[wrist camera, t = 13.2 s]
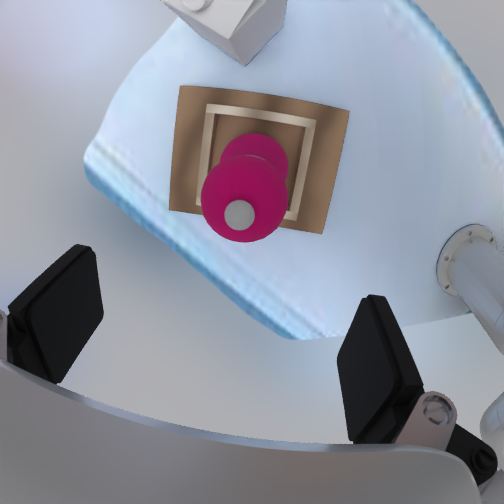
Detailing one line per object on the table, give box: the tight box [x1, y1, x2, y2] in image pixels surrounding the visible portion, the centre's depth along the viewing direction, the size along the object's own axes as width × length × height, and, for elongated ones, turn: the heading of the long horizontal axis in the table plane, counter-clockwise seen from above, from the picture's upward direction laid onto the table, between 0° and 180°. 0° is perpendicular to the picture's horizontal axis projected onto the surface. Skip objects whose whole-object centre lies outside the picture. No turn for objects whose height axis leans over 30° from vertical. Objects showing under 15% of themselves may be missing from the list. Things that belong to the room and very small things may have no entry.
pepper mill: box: [200, 133, 288, 242], centre depth 26 cm, size 7×7×20 cm
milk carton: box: [161, 0, 287, 66], centre depth 20 cm, size 7×7×19 cm
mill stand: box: [169, 86, 350, 234], centre depth 34 cm, size 20×16×3 cm
